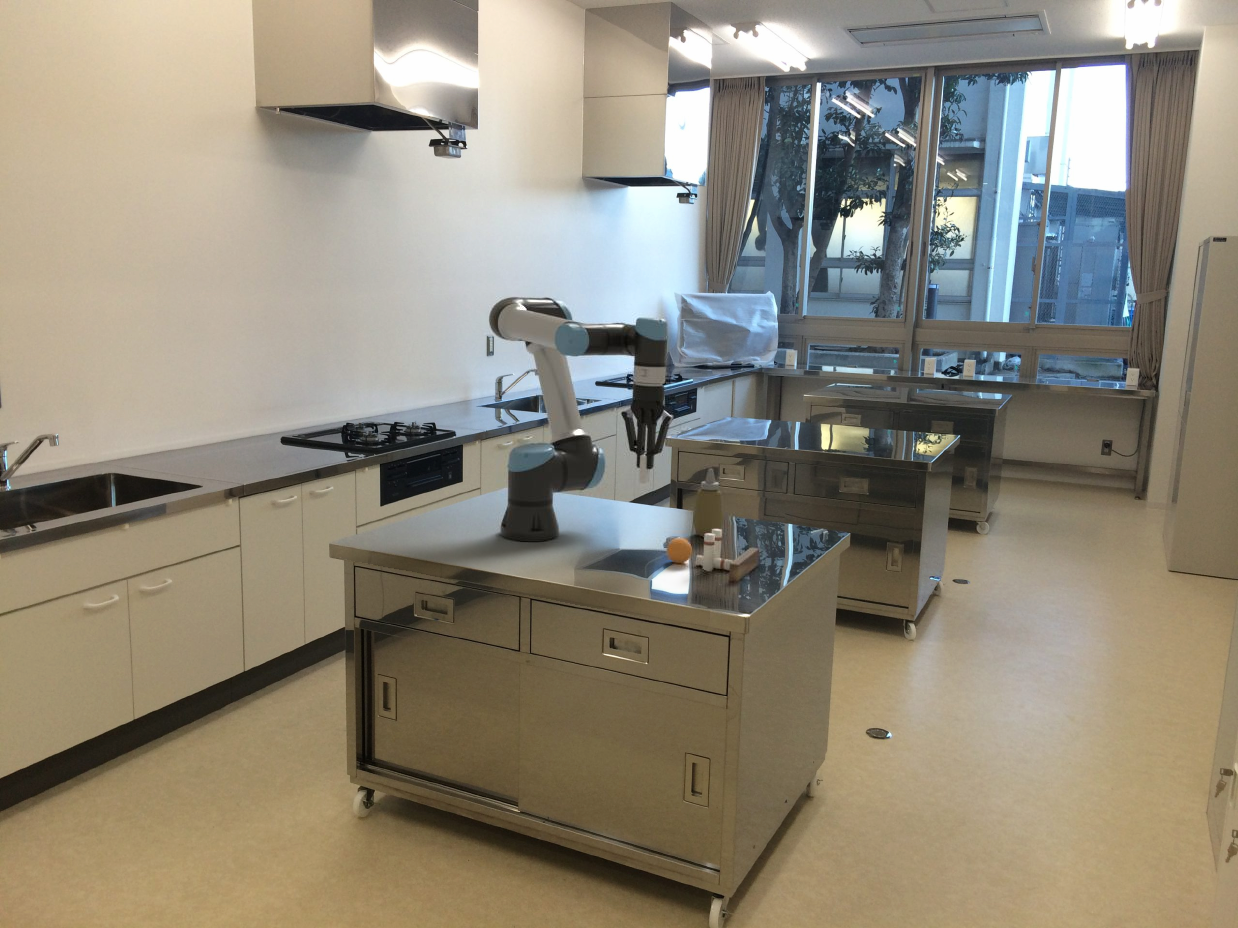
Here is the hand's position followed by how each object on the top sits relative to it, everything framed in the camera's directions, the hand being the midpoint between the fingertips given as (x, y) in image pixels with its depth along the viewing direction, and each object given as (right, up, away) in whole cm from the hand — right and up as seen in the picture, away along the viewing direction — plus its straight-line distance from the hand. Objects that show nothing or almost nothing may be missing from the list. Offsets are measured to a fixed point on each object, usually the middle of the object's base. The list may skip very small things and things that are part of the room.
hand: (644, 481), depth 235 cm
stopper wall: (+23, -21, -7) cm, 32 cm away
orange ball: (+8, -16, -2) cm, 19 cm away
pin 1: (+15, -21, -6) cm, 26 cm away
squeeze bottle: (+17, -15, +25) cm, 34 cm away
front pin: (+13, -19, -3) cm, 23 cm away
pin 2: (+17, -20, -2) cm, 26 cm away
